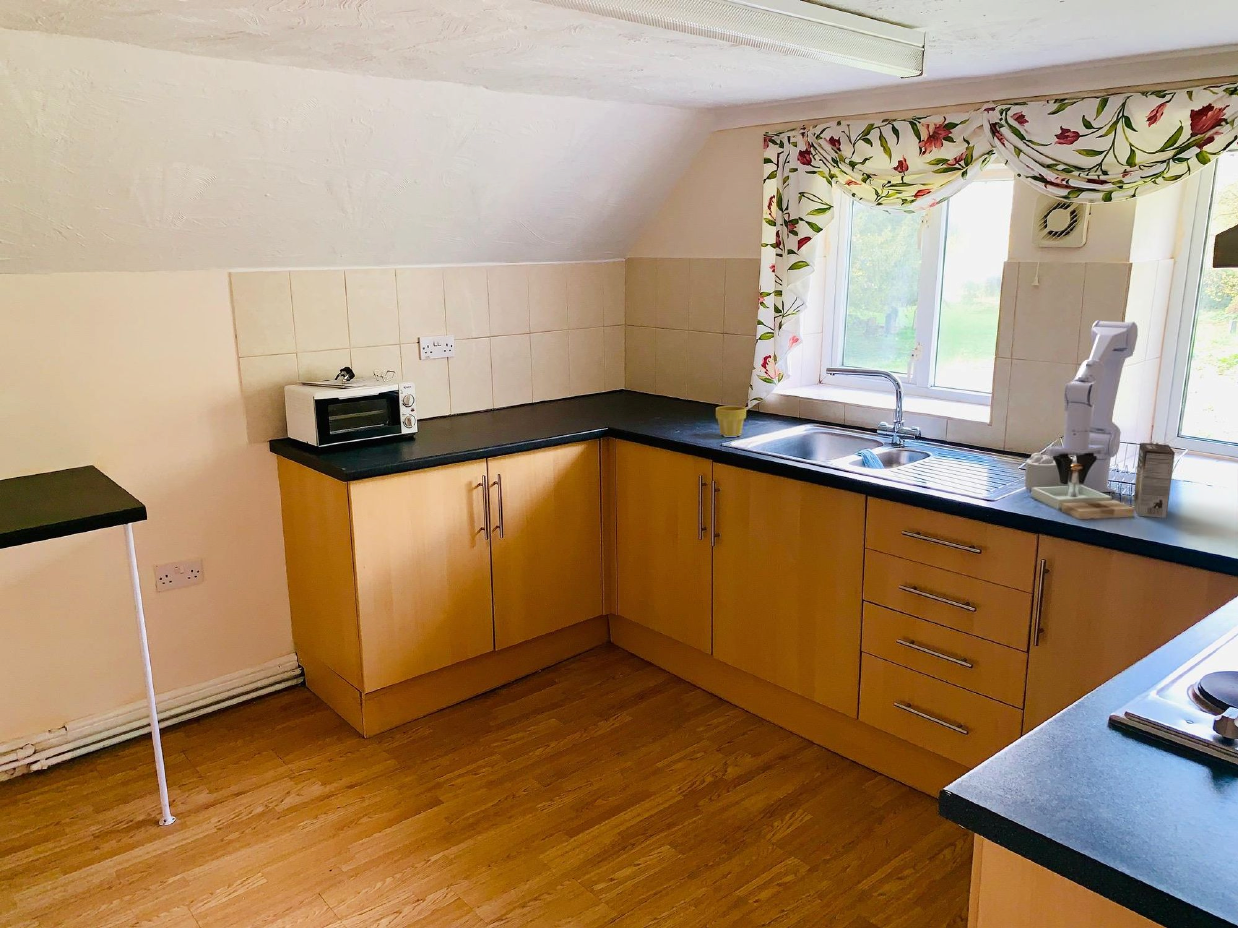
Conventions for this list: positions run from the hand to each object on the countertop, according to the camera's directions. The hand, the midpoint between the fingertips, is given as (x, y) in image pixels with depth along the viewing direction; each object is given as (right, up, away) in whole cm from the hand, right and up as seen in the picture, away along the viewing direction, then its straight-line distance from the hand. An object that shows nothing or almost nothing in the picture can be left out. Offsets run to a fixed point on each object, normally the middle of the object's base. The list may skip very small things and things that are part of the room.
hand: (1071, 483), depth 237 cm
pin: (0, -3, 0) cm, 3 cm away
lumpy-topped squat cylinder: (+1, -1, +16) cm, 16 cm away
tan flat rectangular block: (+2, -7, -9) cm, 12 cm away
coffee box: (+15, -7, -8) cm, 18 cm away
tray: (0, -5, +1) cm, 5 cm away
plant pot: (-75, +14, +88) cm, 116 cm away
